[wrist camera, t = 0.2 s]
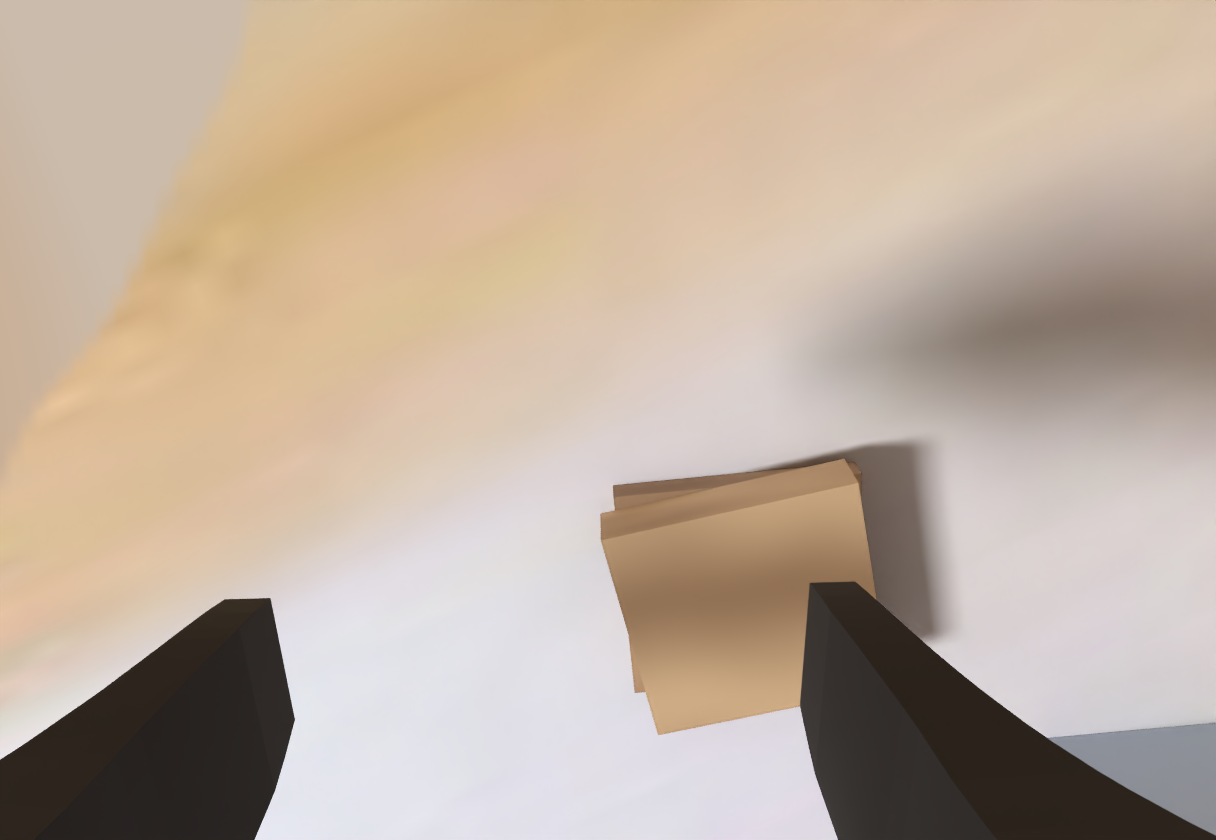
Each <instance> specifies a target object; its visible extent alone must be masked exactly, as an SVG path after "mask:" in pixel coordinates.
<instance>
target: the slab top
mask: <svg viewBox="0 0 1216 840" xmlns="http://www.w3.org/2000/svg"><path fill="white" fill-rule="evenodd" d="M601 542H602V546H603V549H604V552H605V556H606V559H607V563H608V566H609V569H610V573H611V576H612V580H613V583H614V586H615V590H616V593H617V597H618V600H619V603H620V607H621V610H622V614H623V617H624V620H625V624H626V627H627V631H628V634H629V637H630V641H631V644H632V648H633V651H634V654H635V658H636V661H637V664H638V668H639V671H640V675H641V678H642V681H643V685H644V688H645V692H646V695H647V698H648V702H649V705H650V709H651V712H652V715H653V719H654V722H655V726H656V729H657V732H658V735H661V734H666V733H671V732H676V731H681V730H686V729H691V728H696V727H701V726H705V725H710V724H715V723H720V722H725V721H730V720H735V719H740V718H745V717H750V716H755V715H760V714H764V713H769V712H774V711H779V710H784V709H789V708H794V707H799V706H800V697H801V684H802V672H803V659H804V647H805V635H806V622H807V610H808V597H809V585H810V583H817V582H851V581H855V582H856V583H858V584H859V585H860V586H861V587H862V588H864V589H865V590H866V591H867V592H868V593H869V594H870V595H871V596H873V597H874V598H875V599H876V592H875V586H874V580H873V573H872V567H871V560H870V554H869V548H868V541H867V535H866V529H865V522H864V516H863V509H862V503H861V497H860V490H859V484H858V481H857V480H856V478H855V476H854V474H853V473H852V471H851V469H850V468H849V466H848V464H847V462H846V461H845V459H840V460H836V461H832V462H827V463H823V464H818V465H814V466H809V467H805V468H801V469H796V470H792V471H787V472H783V473H778V474H774V475H770V476H765V477H761V478H756V479H752V480H748V481H743V482H739V483H734V484H730V485H725V486H721V487H717V488H712V489H708V490H703V491H699V492H695V493H690V494H686V495H681V496H677V497H672V498H668V499H664V500H659V501H655V502H650V503H646V504H641V505H637V506H633V507H628V508H624V509H619V510H615V511H611V512H606V513H602V514H601ZM876 600H877V599H876Z"/></svg>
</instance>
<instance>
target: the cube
mask: <svg viewBox="0 0 1216 840" xmlns="http://www.w3.org/2000/svg"><path fill="white" fill-rule="evenodd" d="M1048 739H1049V740H1051V741H1052V742H1054V743H1055V744H1057V745H1059V746H1060V747H1062V748H1063V749H1065V750H1066V751H1068V752H1069V753H1071V754H1073V755H1074V756H1076V757H1077V758H1079V759H1080V760H1082V761H1083V762H1085V763H1087V764H1088V765H1090V766H1091V767H1093V768H1094V769H1096V770H1097V771H1099V772H1101V773H1102V774H1104V775H1106V776H1107V777H1109V778H1111V779H1113V780H1114V781H1116V782H1118V783H1119V784H1121V785H1123V786H1124V787H1126V788H1128V789H1130V790H1131V791H1133V792H1135V793H1137V794H1139V795H1140V796H1142V797H1144V798H1146V799H1148V800H1150V801H1151V802H1153V803H1155V804H1157V805H1159V806H1161V807H1162V808H1164V809H1166V810H1168V811H1170V812H1172V813H1173V814H1175V815H1177V816H1179V817H1181V818H1182V819H1184V820H1186V821H1188V822H1190V823H1192V824H1194V825H1196V826H1198V827H1200V828H1202V829H1204V830H1206V831H1208V832H1210V833H1212V834H1214V835H1216V723H1209V724H1198V725H1186V726H1175V727H1164V728H1153V729H1142V730H1131V731H1120V732H1109V733H1098V734H1087V735H1075V736H1064V737H1053V738H1048Z"/></svg>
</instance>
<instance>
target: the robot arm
mask: <svg viewBox="0 0 1216 840" xmlns="http://www.w3.org/2000/svg"><path fill="white" fill-rule="evenodd" d="M800 707H801V712H802V717H803V722H804V726H805V731H806V736H807V741H808V745H809V749H810V754H811V758H812V762H813V767H814V771H815V775H816V778H817V781H818V784H819V787H820V790H821V792H822V795H823V798H824V801H825V804H826V807H827V810H828V812H829V815H830V818H831V821H832V824H833V827H834V829H835V832H836V835H837V838H838V840H1216V835H1214V834H1212V833H1210V832H1208V831H1206V830H1204V829H1202V828H1200V827H1198V826H1196V825H1194V824H1192V823H1190V822H1188V821H1186V820H1184V819H1182V818H1181V817H1179V816H1177V815H1175V814H1173V813H1172V812H1170V811H1168V810H1166V809H1164V808H1162V807H1161V806H1159V805H1157V804H1155V803H1153V802H1151V801H1150V800H1148V799H1146V798H1144V797H1142V796H1140V795H1139V794H1137V793H1135V792H1133V791H1131V790H1130V789H1128V788H1126V787H1124V786H1123V785H1121V784H1119V783H1118V782H1116V781H1114V780H1113V779H1111V778H1109V777H1107V776H1106V775H1104V774H1102V773H1101V772H1099V771H1097V770H1096V769H1094V768H1093V767H1091V766H1090V765H1088V764H1087V763H1085V762H1083V761H1082V760H1080V759H1079V758H1077V757H1076V756H1074V755H1073V754H1071V753H1069V752H1068V751H1066V750H1065V749H1063V748H1062V747H1060V746H1059V745H1057V744H1055V743H1054V742H1052V741H1051V740H1049V739H1048V738H1046V737H1045V736H1043V735H1042V734H1040V733H1039V732H1038V731H1036V730H1035V729H1033V728H1032V727H1030V726H1029V725H1027V724H1026V723H1025V722H1023V721H1022V720H1021V719H1019V718H1018V717H1017V716H1015V715H1014V714H1013V713H1011V712H1010V711H1009V710H1007V709H1006V708H1004V707H1003V706H1002V705H1000V704H999V703H998V702H996V701H995V700H994V699H992V698H991V697H990V696H988V695H987V694H986V693H984V692H983V691H982V690H981V689H979V688H978V687H977V686H976V685H974V684H973V683H972V682H971V681H969V680H968V679H967V678H966V677H964V676H963V675H962V674H961V673H959V672H958V671H957V670H956V669H955V668H953V667H952V666H951V665H950V664H948V663H947V662H946V661H945V660H944V659H943V658H941V657H940V656H939V655H938V654H937V653H935V652H934V651H933V650H932V649H931V648H930V647H929V646H927V645H926V644H925V643H924V642H923V641H922V640H920V639H919V638H918V637H917V636H916V635H915V634H914V633H913V632H911V631H910V630H909V629H908V628H907V627H906V626H905V625H904V624H902V623H901V622H900V621H899V620H898V619H897V618H896V617H895V616H894V615H892V614H891V613H890V612H889V611H888V610H887V609H886V608H885V607H884V606H882V605H881V604H880V603H879V602H878V601H877V600H876V599H875V598H874V597H873V596H871V595H870V594H869V593H868V592H867V591H866V590H865V589H864V588H862V587H861V586H860V585H859V584H858V583H856V582H855V581H851V582H817V583H810V585H809V597H808V610H807V622H806V635H805V647H804V659H803V672H802V684H801V697H800ZM294 721H295V718H294V713H293V708H292V703H291V699H290V694H289V689H288V684H287V679H286V674H285V669H284V664H283V659H282V654H281V649H280V644H279V639H278V634H277V629H276V624H275V619H274V614H273V609H272V604H271V599H270V598H260V599H225V600H223V601H222V602H220V603H219V604H217V605H216V606H214V607H213V608H211V609H210V610H208V611H207V612H205V613H204V614H203V615H201V616H200V617H199V618H197V619H196V620H195V621H193V622H192V623H191V624H189V625H188V626H187V627H185V628H184V629H183V630H181V631H180V632H179V633H177V634H176V635H175V636H173V637H172V638H171V639H169V640H168V641H167V642H165V643H164V644H163V645H161V646H160V647H159V648H158V649H156V650H155V651H154V652H152V653H151V654H150V655H148V656H147V657H146V658H144V659H143V660H142V661H140V662H139V663H138V664H136V665H135V666H134V667H132V668H131V669H130V670H128V671H127V672H126V673H124V674H123V675H122V676H120V677H119V678H118V679H116V680H115V681H114V682H112V683H111V684H110V685H108V686H107V687H106V688H104V689H103V690H102V691H100V692H99V693H97V694H96V695H95V696H93V697H92V698H90V699H89V700H87V701H86V702H85V703H83V704H82V705H80V706H79V707H77V708H76V709H74V710H73V711H72V712H70V713H69V714H67V715H66V716H64V717H63V718H61V719H60V720H59V721H57V722H56V723H54V724H53V725H51V726H50V727H48V728H47V729H46V730H44V731H43V732H41V733H40V734H38V735H37V736H35V737H34V738H33V739H31V740H30V741H28V742H27V743H25V744H24V745H22V746H21V747H19V748H18V749H16V750H15V751H13V752H12V753H10V754H8V755H7V756H5V757H4V758H2V759H1V760H0V840H254V839H255V837H256V835H257V832H258V830H259V828H260V825H261V823H262V820H263V818H264V816H265V813H266V811H267V809H268V806H269V804H270V801H271V799H272V797H273V794H274V792H275V789H276V785H277V782H278V779H279V775H280V772H281V768H282V765H283V762H284V758H285V755H286V751H287V747H288V743H289V740H290V736H291V732H292V728H293V725H294Z"/></svg>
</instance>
